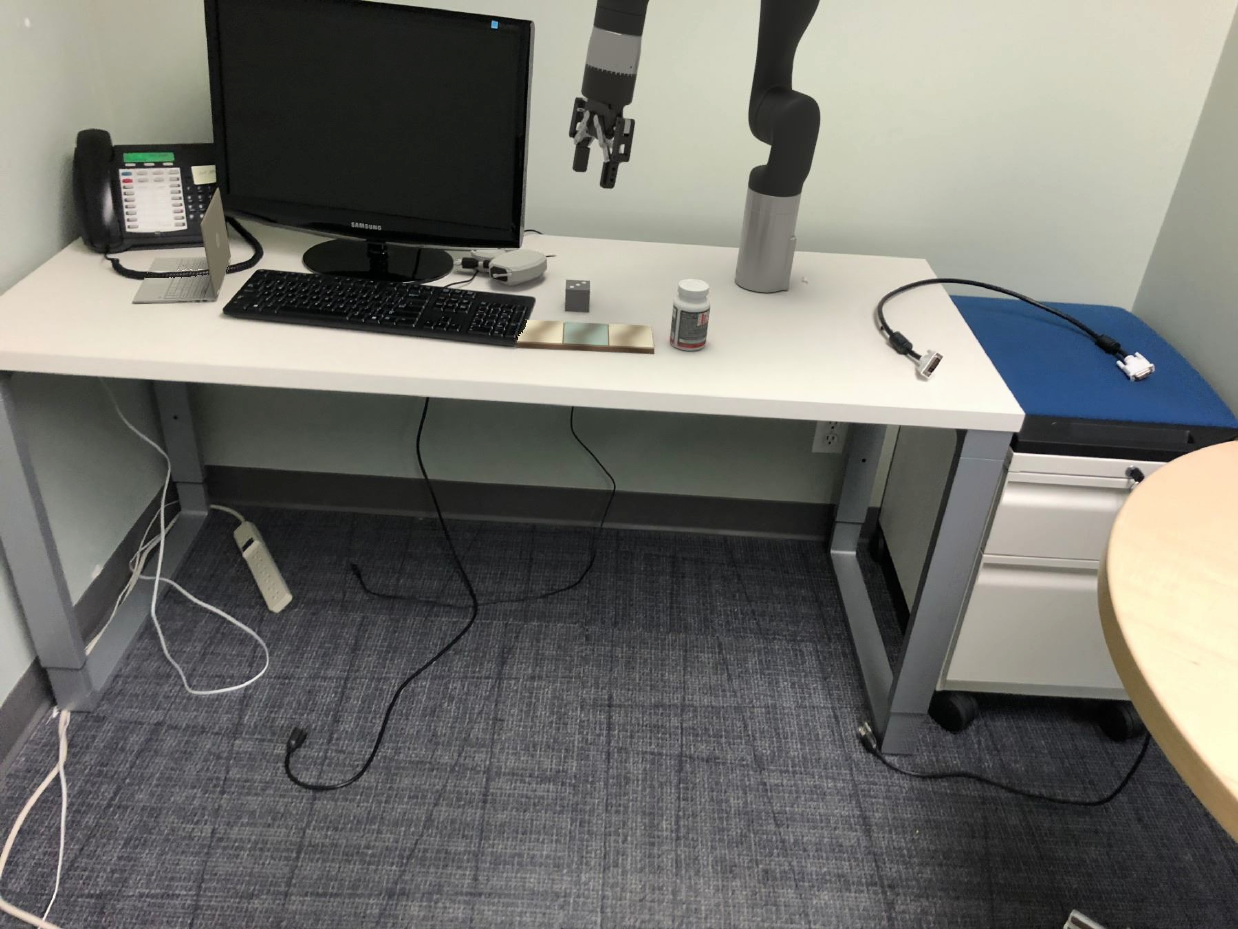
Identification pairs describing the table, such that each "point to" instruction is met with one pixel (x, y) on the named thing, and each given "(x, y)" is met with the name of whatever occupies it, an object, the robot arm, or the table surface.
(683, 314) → the pill bottle
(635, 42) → the robot arm
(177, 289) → the laptop
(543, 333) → the board
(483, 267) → the robot toy
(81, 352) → the table surface
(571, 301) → the die
